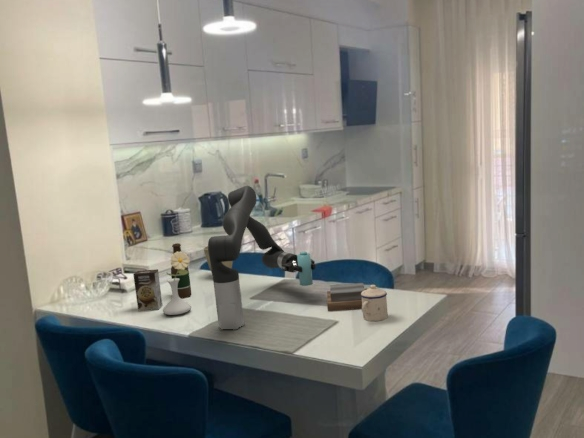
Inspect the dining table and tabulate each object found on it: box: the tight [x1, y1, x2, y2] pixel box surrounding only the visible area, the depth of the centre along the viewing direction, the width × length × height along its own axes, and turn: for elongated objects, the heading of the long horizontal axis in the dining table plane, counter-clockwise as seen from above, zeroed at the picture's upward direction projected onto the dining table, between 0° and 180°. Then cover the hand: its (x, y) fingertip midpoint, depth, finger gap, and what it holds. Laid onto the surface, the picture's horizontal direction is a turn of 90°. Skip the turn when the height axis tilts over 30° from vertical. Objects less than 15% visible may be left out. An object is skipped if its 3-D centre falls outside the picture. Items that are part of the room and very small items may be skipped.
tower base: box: [326, 282, 368, 312], centre depth 214 cm, size 16×16×6 cm
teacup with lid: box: [361, 284, 389, 322], centre depth 193 cm, size 12×9×12 cm
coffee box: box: [133, 268, 163, 312], centre depth 233 cm, size 9×6×16 cm
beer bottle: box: [170, 243, 192, 300], centre depth 246 cm, size 8×8×24 cm
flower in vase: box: [162, 250, 192, 316], centre depth 222 cm, size 13×11×25 cm
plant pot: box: [203, 245, 234, 273], centre depth 274 cm, size 15×15×16 cm
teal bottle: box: [296, 251, 314, 287], centre depth 221 cm, size 5×5×13 cm
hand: (307, 268), depth 218 cm, fingers closed on teal bottle, 5 cm apart
